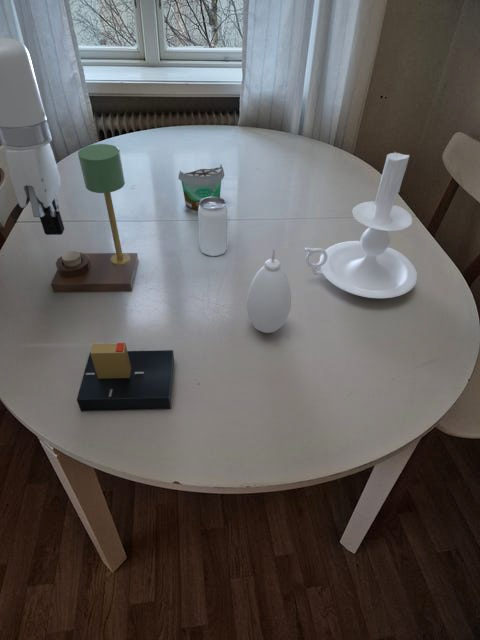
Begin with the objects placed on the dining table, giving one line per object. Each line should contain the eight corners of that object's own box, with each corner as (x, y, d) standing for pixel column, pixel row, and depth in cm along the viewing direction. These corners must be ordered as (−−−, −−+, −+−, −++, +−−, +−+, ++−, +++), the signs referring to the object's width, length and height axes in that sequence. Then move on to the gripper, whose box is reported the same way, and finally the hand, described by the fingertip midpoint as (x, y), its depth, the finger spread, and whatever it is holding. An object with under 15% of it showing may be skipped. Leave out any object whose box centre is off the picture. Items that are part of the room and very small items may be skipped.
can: (225, 240, 104) (225, 194, 96) (229, 256, 99) (229, 209, 91) (198, 242, 103) (196, 196, 95) (201, 258, 99) (199, 211, 90)
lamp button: (61, 267, 89) (59, 260, 87) (66, 257, 91) (64, 250, 90) (79, 267, 89) (77, 260, 88) (83, 257, 91) (81, 250, 90)
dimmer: (80, 411, 67) (76, 399, 65) (93, 363, 75) (89, 350, 73) (170, 409, 68) (168, 397, 66) (174, 361, 75) (173, 349, 73)
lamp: (100, 270, 88) (73, 159, 72) (106, 251, 93) (82, 143, 77) (135, 270, 88) (116, 160, 72) (139, 251, 93) (122, 144, 77)
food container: (188, 217, 112) (185, 180, 105) (180, 206, 116) (177, 170, 109) (231, 208, 116) (231, 172, 109) (222, 198, 120) (222, 163, 113)
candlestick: (290, 254, 100) (306, 131, 81) (392, 250, 103) (430, 129, 84) (310, 313, 86) (335, 180, 66) (428, 307, 88) (485, 176, 69)
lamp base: (53, 292, 88) (47, 277, 86) (66, 261, 96) (61, 246, 94) (132, 291, 89) (129, 276, 86) (138, 260, 97) (136, 246, 94)
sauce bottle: (264, 309, 86) (271, 231, 74) (295, 328, 82) (307, 249, 70) (237, 328, 82) (240, 248, 70) (268, 349, 78) (276, 269, 66)
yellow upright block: (98, 378, 68) (89, 352, 64) (100, 369, 70) (92, 342, 66) (129, 378, 69) (123, 351, 64) (131, 368, 70) (125, 342, 66)
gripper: (14, 116, 73) (45, 212, 86) (-18, 150, 62) (22, 255, 75) (59, 116, 74) (83, 212, 86) (35, 150, 63) (66, 254, 75)
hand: (55, 232), depth 81 cm, fingers closed
